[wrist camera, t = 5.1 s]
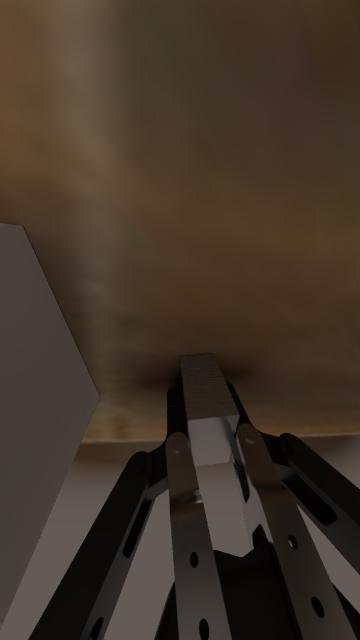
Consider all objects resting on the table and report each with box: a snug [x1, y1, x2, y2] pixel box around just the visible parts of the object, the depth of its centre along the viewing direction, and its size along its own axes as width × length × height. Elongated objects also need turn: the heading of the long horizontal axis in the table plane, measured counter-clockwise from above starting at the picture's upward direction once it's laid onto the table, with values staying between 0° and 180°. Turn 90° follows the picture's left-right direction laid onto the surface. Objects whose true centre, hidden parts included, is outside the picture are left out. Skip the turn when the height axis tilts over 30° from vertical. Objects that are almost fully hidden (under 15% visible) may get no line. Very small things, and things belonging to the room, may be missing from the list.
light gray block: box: [180, 354, 240, 466], centre depth 10 cm, size 2×5×4 cm, turn 2°
